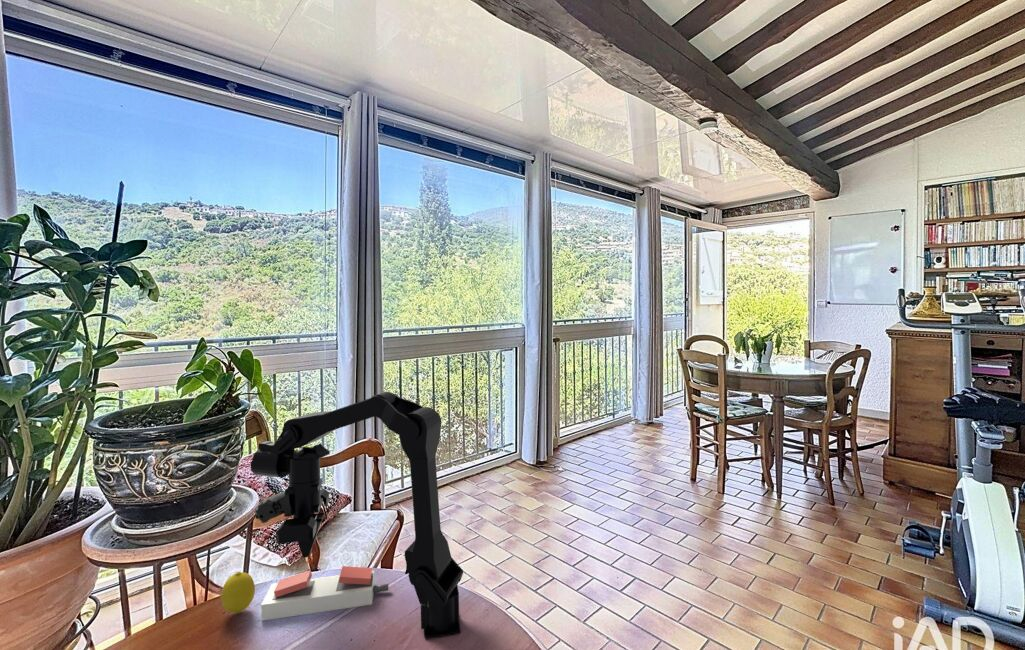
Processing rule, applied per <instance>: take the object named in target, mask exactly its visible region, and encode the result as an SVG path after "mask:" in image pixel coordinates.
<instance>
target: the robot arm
mask: <svg viewBox="0 0 1025 650" xmlns="http://www.w3.org/2000/svg"><path fill="white" fill-rule="evenodd" d="M374 417H376V418H378V419H379V420H381V422H382V423H383V425H385V427H386V428H387V429H388V430H389V431H391V432H393V433H394V434H396V435H398V438H399V442H400V446H401V449H402V450H403V453H404V454H405V455H406V457H407V458H408V461H409V469H410V481H411V485H410V486H411V495H412V496H411V497H412V511H413V523H414V525H413V526H414V537H415V538H414V541H412V543H411V544H410V545H409V546H408V547H407V548H406V549H405V550H404V560H405V567H406V568H405V572H404V573H405V574H404V575H407V574H408V579H409V583H410V584H411V586H413V587H414V591H415V594H416V596H417V599H418V601H419V602H418V603H419V605H420V629H421V630H423V638H424V639H426V640H427V639H433V638H440V637H445V636H452V635H458V634H460V633H461V632H462V628H461V621H460V592H459V587H458V584H459V583H460V582H461V580H462V578H463V576H464V570H463V569H462V567H461V566H460V565H459V564H458V563H457V562H456V560H454V559H453V557H452V553H451V551H450V546H449V542H448V540H447V539H446V537H445V536H444V533H443V532H442V529H441V527H442V526H441V516H440V503H439V489H438V488H439V487H438V478H437V477H438V474H437V473H438V472H437V464H436V463H437V462H436V453H437V451H438V447H439V443H440V441H441V433H442V432H441V430H442V417H441V415H440V413H439V412H437V411H436V409H434V408H432V407H429V406H423V405H421V404H419V403H418V402H414V401H412V400H408V399H406V398H403V397H400V396H398V395H397V394H395V393H393V392H390V391H383V392H380V393H377V394H374V395H372V396H371V397H369V398H367V399H363V400H360V401H358V402H355V403H352V404H349V405H346V406H343V407H340V408H337V409H335V410H330V411H317V412H310V413H306V414H303V415H301V416H297V417H294V418H291V419H287V420H286V421H285V422H284V424H283V426H282V431H281V433H280V435H279V436H278V438H277V439H276V441H274V442H273V441H271V440H266V441H262V442H259V443H258V449H257V451H255V452H254V454H253V457H252V458H251V461H250V470H251V472H252V474H253V475H255V476H258V477H259V476H260V477H270V478H286V476H288V486H287V488H285V490H283V491H281V492H279V493H276V494H274V495H272V496H269V497H267V498H264V499H263V500H262V501H260V502H259V503H258V505H257V506H256V508H255V516H254V517H255V519H256V520H259V521H260V522H261V524H265V523H268V522H269V521H270V520H272V519H274V518H277V517H278V516H281V515H283V514H284V515H283V516H284V518H285V520H284V521H283V522H282V523H281V524H280V526H279V528H278V529H277V531H276V532H275V542H276V544H277V545H282V544H290V543H297V544H298V547H299V549H300V553H301V555H302V558H309V557H310V555H311V552H312V549H313V547H314V543H315V540H316V538H317V536H318V533H319V530H320V527H321V524H322V522H323V519H324V516H325V513H324V512H320V510H321V508H322V506H324V507H326V506H328V505H329V504H330V492H329V491H328V490H327V489H325V488H322V489H321V486H322V485H323V478H321V459H322V458H324V457H327V456H329V455H330V454H331V452H330V450H329V449H328V448H326V447H324V446H323V444H322V443H318V444H316V445H313V446H312V447H311V446H307V445H310V444H312V443H314V442H316V441H319V440H321V439H322V438H324V437H326V436H328V435H329V434H331V433H332V432H334V431H335V430H337V429H342V428H344V427H347V426H350V425H353V424H355V423H359V422H362V421H365V420H369V419H372V418H374ZM292 516H293V517H292ZM287 517H292V518H287Z"/></svg>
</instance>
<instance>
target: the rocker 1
mask: <svg viewBox="0 0 1025 650" xmlns="http://www.w3.org/2000/svg"><path fill="white" fill-rule="evenodd" d="M312 577H313V574H312V570H311V569H310V570H306V571H303V572H301V573H298V574H294V575H291V576H289V577H288V576H287V577H286V578H282V579H279V580H278V582H277V583H278V584H277V586H276V588H275V590H274V594H275V598H276V597H279V596H282V595H285V594H288V593H291V592H294V591H297V590H300V589H303V588H306V587H308V585H309V583H310V580H311V579H312Z"/></svg>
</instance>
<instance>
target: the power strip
mask: <svg viewBox="0 0 1025 650" xmlns="http://www.w3.org/2000/svg"><path fill="white" fill-rule="evenodd" d="M339 578H340V574H337V575H329V576H322V577H315V578H311V580H310V583H309V585H308V587H306V588H303V589H300V590H297V591H294V592H291V593H288V594H285V595H282V596H279V597H276V598H275V594H274V590H275V588H276V586H277V584H278V582H276V583H275V582H274V583H271V584H270V587H269V588H268V591H267V593H266V595H265V597H264V598H263V600H262V602H261V604H260V608H261V609H260V610H261V620H260V621H262V622H263V621H267V620H276V619H281V618H288V617H294V616H295V617H296V616H303V615H309V614H316V613H323V612H329V611H337V610H344V609H351V608H356V607H357V608H358V607H364V606H370V605H373V599H374V594H375V593H380V592H388V591H389V583H384V584H377V585H375V570H372V573H371V579H370V584H369V585H366V584H350V583H339Z"/></svg>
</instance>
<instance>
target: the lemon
mask: <svg viewBox="0 0 1025 650" xmlns="http://www.w3.org/2000/svg"><path fill="white" fill-rule="evenodd" d="M255 591H256V585H255V582H254V579H253V577H252V575H250V574H249V573H247V572H243V571H242V572H241V571H237V572H236V573H234V574H232V575H231V576H229V578H227V579H226V581H225V582H224V585H223V586H222V589H221V598H220V600H221V604H222V607H223V608H224V610H225V611H227V612H228V613H232V614H234V613H235V614H237V615H239V614H241V613H242V612H243V611H245V610H246V609H247V608H248V607H249V606H250V605H251V603H252V601H253V600H254V598H255V597H254V596H255Z"/></svg>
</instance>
